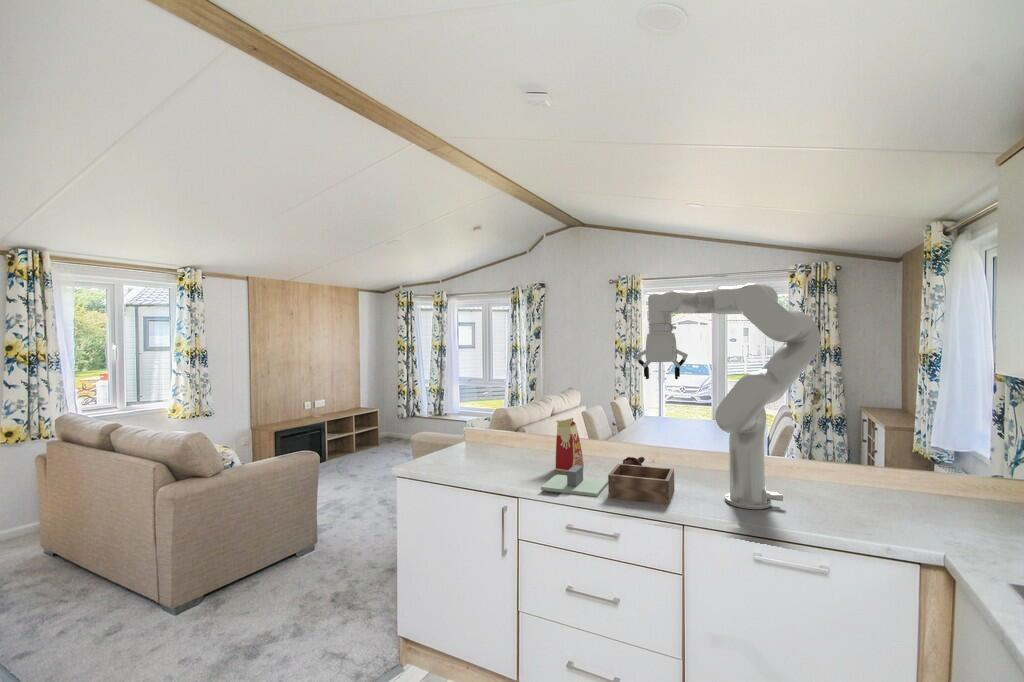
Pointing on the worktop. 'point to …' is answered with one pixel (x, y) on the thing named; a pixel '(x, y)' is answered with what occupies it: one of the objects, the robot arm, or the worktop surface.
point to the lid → (575, 483)
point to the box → (641, 483)
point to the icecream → (634, 461)
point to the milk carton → (567, 446)
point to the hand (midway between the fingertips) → (661, 378)
